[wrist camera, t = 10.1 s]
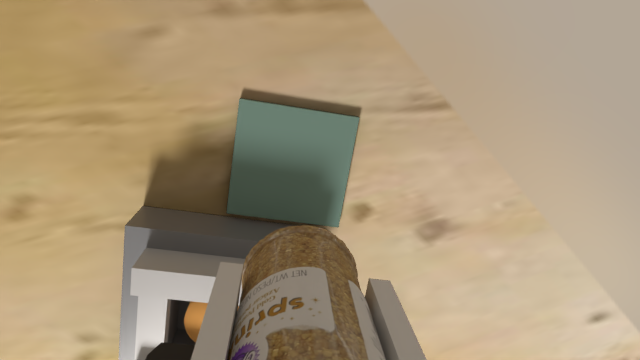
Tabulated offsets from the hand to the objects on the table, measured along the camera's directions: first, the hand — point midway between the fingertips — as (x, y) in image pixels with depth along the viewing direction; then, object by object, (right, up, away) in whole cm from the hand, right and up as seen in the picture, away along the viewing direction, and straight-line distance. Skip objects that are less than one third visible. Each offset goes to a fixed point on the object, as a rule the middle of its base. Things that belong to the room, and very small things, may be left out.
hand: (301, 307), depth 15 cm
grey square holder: (-7, -5, +22) cm, 23 cm away
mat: (-2, +6, +19) cm, 20 cm away
